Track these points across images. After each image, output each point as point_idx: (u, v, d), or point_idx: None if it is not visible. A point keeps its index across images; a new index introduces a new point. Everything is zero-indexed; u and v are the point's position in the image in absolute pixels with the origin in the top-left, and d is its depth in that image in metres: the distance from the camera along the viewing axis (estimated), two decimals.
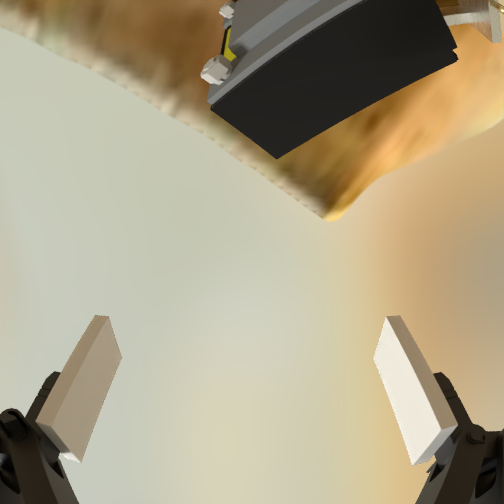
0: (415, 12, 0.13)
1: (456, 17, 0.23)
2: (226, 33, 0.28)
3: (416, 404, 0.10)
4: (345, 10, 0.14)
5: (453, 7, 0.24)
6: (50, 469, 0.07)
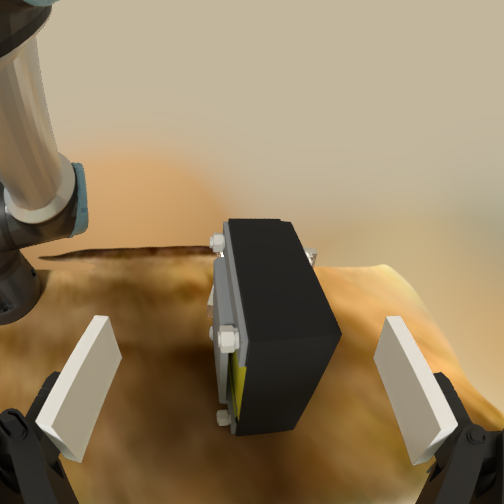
0: (249, 226, 0.35)
1: None
2: (238, 420, 0.32)
3: (417, 404, 0.10)
4: (232, 249, 0.32)
5: None
6: (50, 469, 0.07)
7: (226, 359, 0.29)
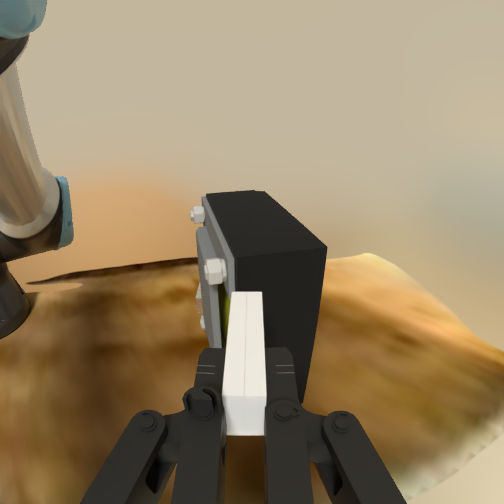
0: (226, 195, 0.37)
1: None
2: None
3: None
4: (212, 210, 0.33)
5: None
6: (221, 459, 0.08)
7: (217, 311, 0.29)
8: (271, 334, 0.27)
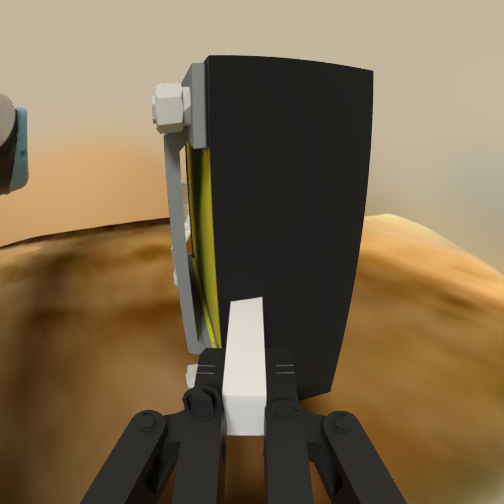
0: None
1: None
2: None
3: None
4: None
5: None
6: (221, 459, 0.08)
7: (180, 208, 0.16)
8: (280, 241, 0.14)
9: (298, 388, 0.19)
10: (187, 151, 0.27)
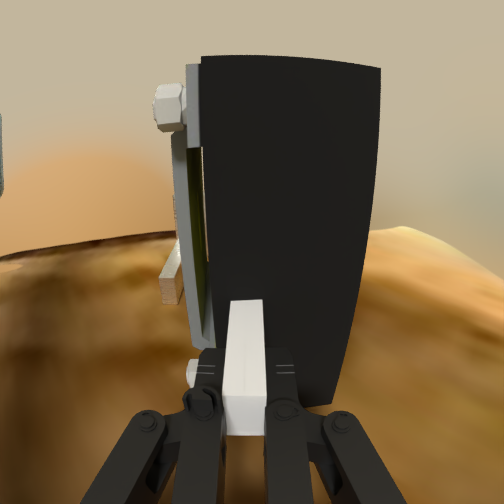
0: None
1: None
2: None
3: None
4: None
5: None
6: (221, 459, 0.08)
7: (186, 205, 0.16)
8: (275, 244, 0.14)
9: None
10: None
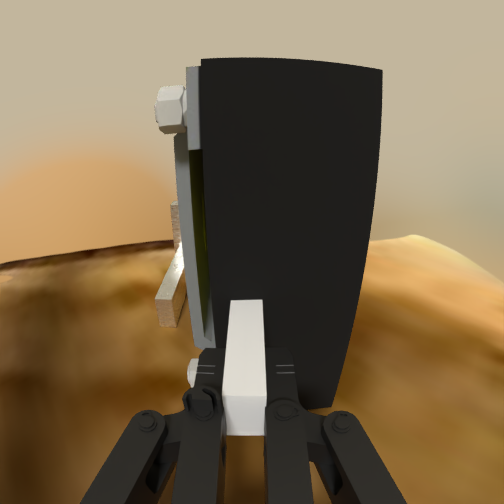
0: None
1: None
2: None
3: None
4: None
5: None
6: (220, 459, 0.08)
7: (189, 206, 0.16)
8: (275, 247, 0.14)
9: None
10: None
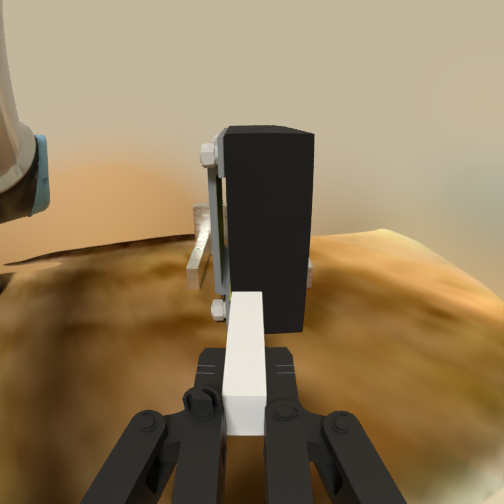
0: None
1: None
2: None
3: None
4: None
5: None
6: (221, 459, 0.08)
7: (215, 206, 0.30)
8: (261, 225, 0.28)
9: (278, 322, 0.32)
10: None
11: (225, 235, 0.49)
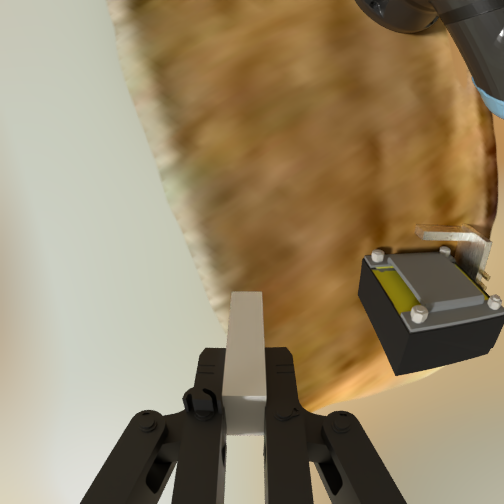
0: (494, 329, 0.34)
1: None
2: (372, 272, 0.47)
3: None
4: (480, 320, 0.33)
5: None
6: (221, 459, 0.08)
7: (412, 291, 0.39)
8: (384, 315, 0.42)
9: (361, 286, 0.52)
10: None
11: (465, 255, 0.47)
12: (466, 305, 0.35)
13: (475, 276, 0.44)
